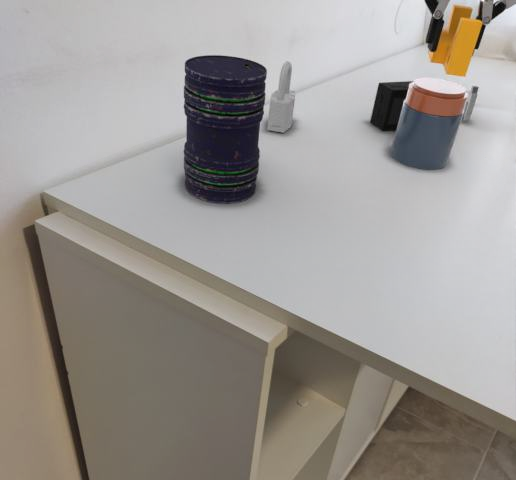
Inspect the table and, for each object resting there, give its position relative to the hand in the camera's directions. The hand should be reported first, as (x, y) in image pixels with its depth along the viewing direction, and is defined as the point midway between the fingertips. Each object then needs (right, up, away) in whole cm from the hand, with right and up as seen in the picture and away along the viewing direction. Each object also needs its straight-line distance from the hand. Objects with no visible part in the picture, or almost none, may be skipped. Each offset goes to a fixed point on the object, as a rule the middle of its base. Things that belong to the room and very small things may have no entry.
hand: (449, 50), depth 77 cm
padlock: (-24, -5, +16) cm, 29 cm away
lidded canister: (-1, -12, +10) cm, 16 cm away
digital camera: (-1, -3, +21) cm, 21 cm away
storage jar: (-33, -21, -4) cm, 39 cm away
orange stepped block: (0, -1, +1) cm, 2 cm away
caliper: (+14, +7, +33) cm, 37 cm away
